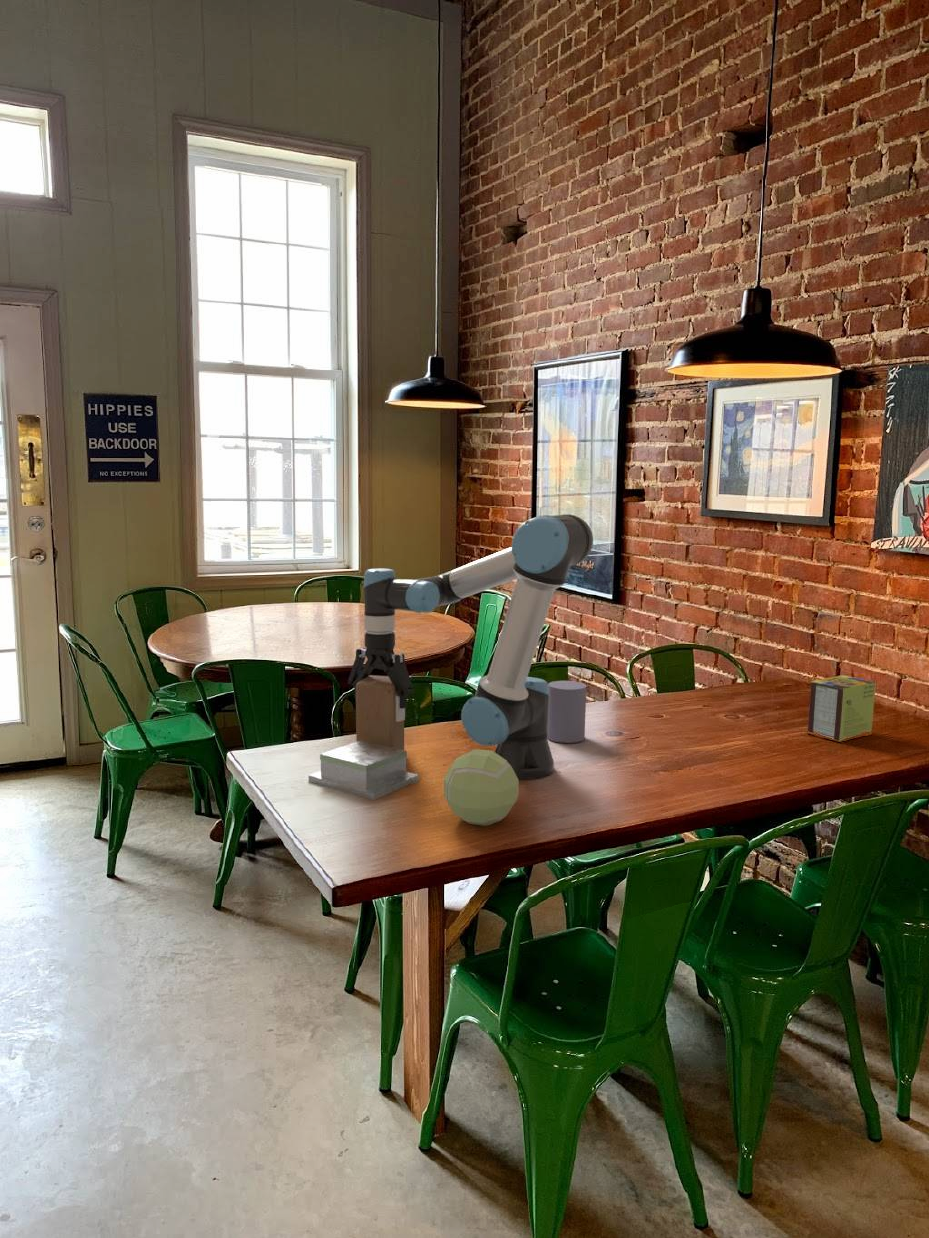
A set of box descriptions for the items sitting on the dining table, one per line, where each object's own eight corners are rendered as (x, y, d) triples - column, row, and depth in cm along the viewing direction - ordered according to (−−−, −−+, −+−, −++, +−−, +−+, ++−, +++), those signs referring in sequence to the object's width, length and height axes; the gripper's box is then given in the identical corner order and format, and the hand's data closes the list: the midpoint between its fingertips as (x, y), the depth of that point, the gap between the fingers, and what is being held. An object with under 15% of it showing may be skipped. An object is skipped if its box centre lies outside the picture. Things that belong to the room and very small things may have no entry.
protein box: (872, 735, 262) (876, 681, 260) (839, 743, 254) (843, 688, 251) (839, 726, 271) (843, 674, 268) (805, 734, 262) (810, 680, 260)
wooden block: (394, 764, 229) (393, 685, 226) (355, 761, 231) (354, 682, 228) (405, 752, 239) (405, 676, 235) (367, 750, 241) (367, 674, 238)
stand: (418, 780, 219) (418, 752, 218) (373, 800, 206) (373, 769, 205) (355, 764, 231) (354, 736, 229) (308, 781, 218) (308, 752, 217)
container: (541, 741, 252) (543, 687, 250) (552, 731, 262) (554, 679, 259) (578, 745, 249) (580, 691, 246) (588, 735, 258) (590, 682, 256)
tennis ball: (456, 805, 204) (457, 739, 201) (523, 813, 200) (525, 745, 197) (435, 830, 190) (435, 759, 187) (506, 839, 185) (508, 767, 183)
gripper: (428, 634, 226) (428, 721, 229) (353, 624, 240) (354, 706, 243) (408, 639, 220) (408, 727, 223) (332, 628, 234) (334, 711, 237)
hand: (380, 716), depth 233 cm, fingers closed on wooden block, 12 cm apart
